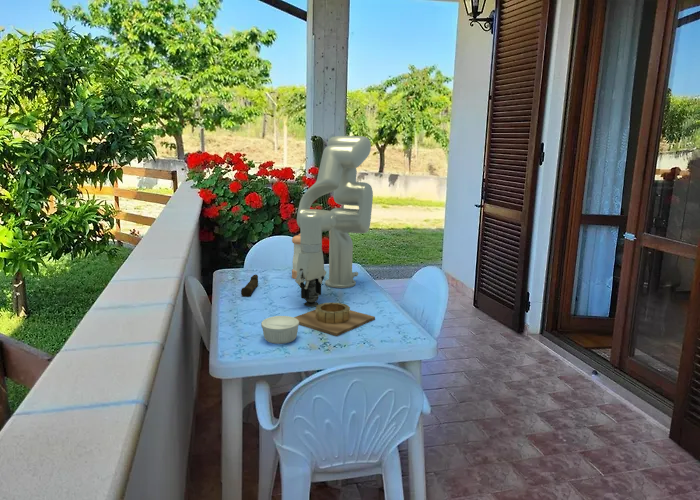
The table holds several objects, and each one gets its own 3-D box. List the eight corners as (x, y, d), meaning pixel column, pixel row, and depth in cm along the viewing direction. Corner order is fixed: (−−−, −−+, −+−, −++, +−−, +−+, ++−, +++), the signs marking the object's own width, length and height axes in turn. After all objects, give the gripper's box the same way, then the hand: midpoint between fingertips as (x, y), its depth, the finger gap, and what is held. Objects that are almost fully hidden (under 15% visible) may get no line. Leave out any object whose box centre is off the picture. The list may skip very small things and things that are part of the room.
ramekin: (266, 348, 148) (266, 330, 147) (257, 334, 158) (257, 318, 157) (304, 342, 152) (304, 325, 151) (292, 329, 162) (292, 313, 161)
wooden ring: (330, 310, 178) (330, 300, 177) (356, 317, 172) (356, 307, 171) (309, 318, 170) (309, 308, 169) (334, 326, 163) (335, 315, 162)
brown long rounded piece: (251, 297, 195) (251, 285, 194) (240, 297, 195) (240, 285, 194) (263, 284, 213) (263, 273, 213) (254, 284, 214) (253, 273, 213)
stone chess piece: (303, 301, 190) (303, 270, 188) (319, 301, 191) (319, 270, 188) (303, 306, 184) (302, 274, 182) (319, 306, 185) (319, 274, 182)
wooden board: (329, 307, 185) (329, 304, 184) (374, 319, 173) (375, 316, 172) (289, 321, 169) (289, 318, 169) (336, 336, 157) (336, 333, 157)
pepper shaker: (299, 274, 229) (299, 231, 225) (312, 277, 225) (312, 233, 221) (288, 277, 223) (287, 234, 219) (301, 280, 219) (300, 236, 215)
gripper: (319, 242, 192) (319, 289, 196) (286, 250, 179) (286, 300, 183) (334, 245, 187) (334, 293, 191) (302, 253, 174) (302, 304, 178)
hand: (311, 296), depth 187 cm, fingers closed on stone chess piece, 5 cm apart
